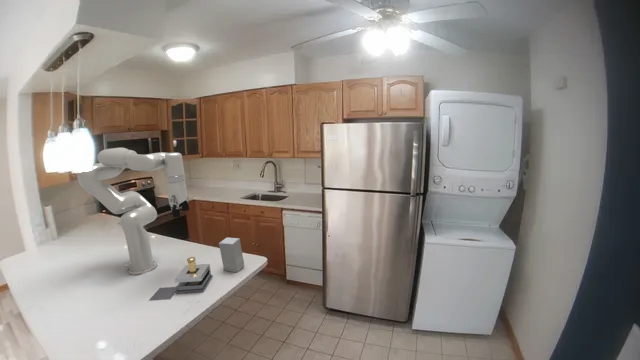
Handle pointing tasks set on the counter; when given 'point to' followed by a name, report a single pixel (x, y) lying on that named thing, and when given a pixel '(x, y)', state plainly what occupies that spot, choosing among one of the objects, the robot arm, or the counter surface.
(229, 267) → the skincare box
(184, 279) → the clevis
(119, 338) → the counter surface
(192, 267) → the pin
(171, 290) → the mat
